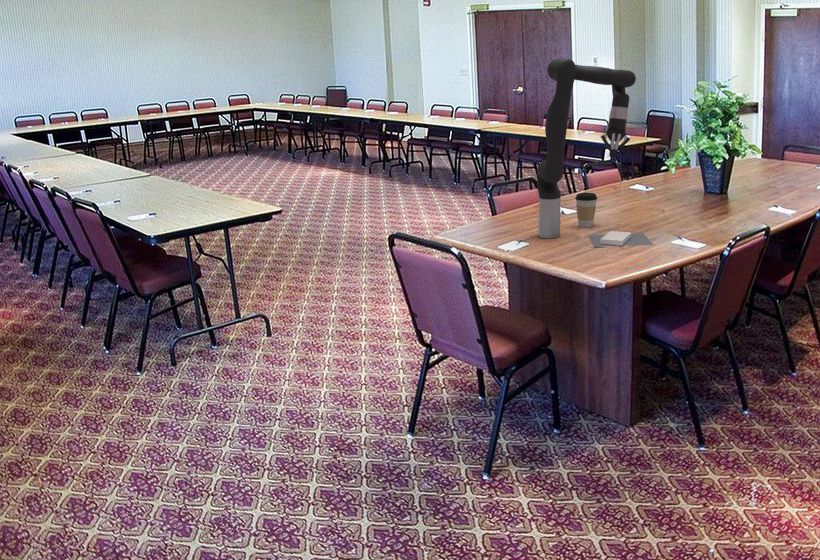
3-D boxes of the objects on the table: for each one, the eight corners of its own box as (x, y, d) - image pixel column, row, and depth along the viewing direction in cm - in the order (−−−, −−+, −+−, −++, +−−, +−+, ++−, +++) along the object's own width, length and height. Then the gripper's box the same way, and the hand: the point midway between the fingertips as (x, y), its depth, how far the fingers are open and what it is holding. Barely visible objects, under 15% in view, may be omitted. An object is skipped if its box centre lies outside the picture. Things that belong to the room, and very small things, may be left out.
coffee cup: (600, 226, 355) (601, 193, 351) (588, 230, 348) (589, 197, 344) (582, 223, 362) (583, 191, 357) (570, 227, 355) (570, 195, 351)
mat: (594, 247, 319) (594, 246, 319) (587, 236, 338) (587, 234, 338) (653, 246, 317) (653, 244, 317) (643, 234, 336) (643, 233, 336)
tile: (610, 231, 333) (600, 239, 321) (631, 232, 329) (622, 240, 316) (610, 236, 334) (600, 244, 321) (631, 237, 330) (622, 246, 317)
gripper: (604, 116, 333) (598, 157, 337) (635, 119, 333) (629, 160, 336) (601, 116, 341) (595, 156, 344) (631, 119, 340) (625, 159, 343)
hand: (612, 158), depth 340 cm, fingers closed
